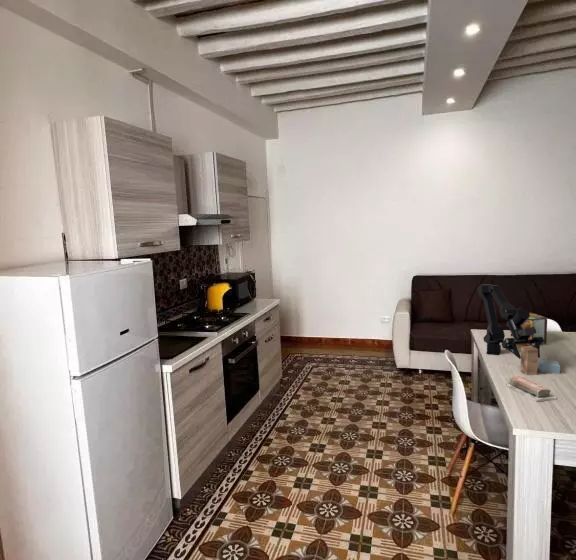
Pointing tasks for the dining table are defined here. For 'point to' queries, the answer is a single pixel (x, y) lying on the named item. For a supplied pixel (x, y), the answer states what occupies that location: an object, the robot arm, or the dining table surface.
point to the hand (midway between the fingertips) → (529, 357)
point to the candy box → (526, 326)
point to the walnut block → (529, 360)
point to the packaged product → (529, 389)
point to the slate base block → (548, 366)
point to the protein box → (539, 326)
